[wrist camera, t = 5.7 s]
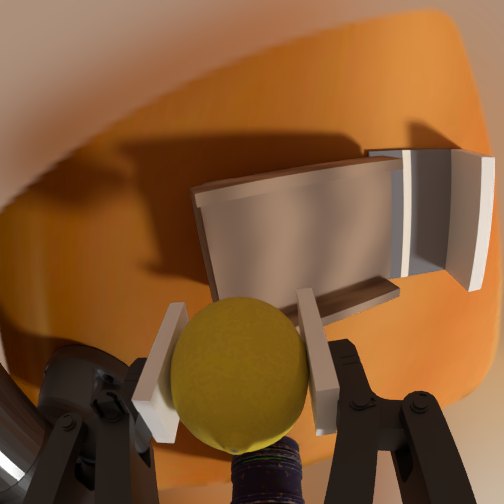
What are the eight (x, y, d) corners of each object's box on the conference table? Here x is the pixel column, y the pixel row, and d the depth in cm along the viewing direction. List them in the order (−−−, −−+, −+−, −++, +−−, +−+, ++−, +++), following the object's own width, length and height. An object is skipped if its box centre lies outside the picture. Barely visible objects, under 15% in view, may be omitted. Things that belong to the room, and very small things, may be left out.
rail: (443, 268, 28) (468, 291, 24) (449, 148, 24) (481, 157, 19) (455, 265, 28) (480, 288, 24) (462, 148, 24) (494, 157, 19)
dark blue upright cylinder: (262, 425, 37) (264, 526, 24) (313, 446, 40) (325, 534, 26) (218, 452, 41) (211, 539, 27) (268, 470, 43) (270, 549, 29)
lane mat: (370, 280, 29) (371, 282, 29) (367, 151, 24) (369, 151, 24) (455, 265, 28) (456, 267, 28) (462, 148, 24) (463, 149, 23)
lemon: (176, 276, 15) (121, 401, 8) (290, 258, 15) (319, 387, 8) (204, 360, 17) (182, 484, 10) (302, 348, 17) (323, 476, 10)
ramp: (225, 297, 30) (217, 357, 22) (201, 172, 25) (178, 196, 17) (384, 276, 29) (421, 327, 21) (384, 152, 24) (434, 169, 17)
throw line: (399, 275, 29) (400, 277, 28) (400, 149, 24) (402, 150, 24) (406, 274, 29) (407, 276, 28) (408, 149, 24) (410, 149, 24)
